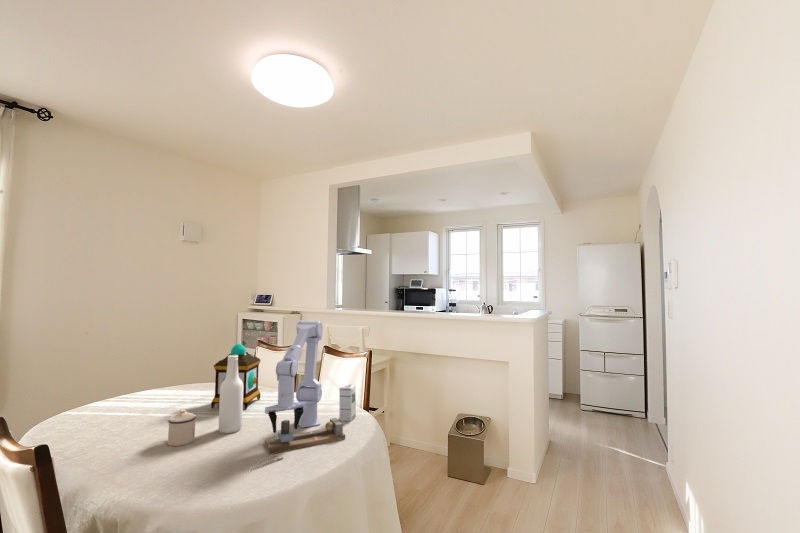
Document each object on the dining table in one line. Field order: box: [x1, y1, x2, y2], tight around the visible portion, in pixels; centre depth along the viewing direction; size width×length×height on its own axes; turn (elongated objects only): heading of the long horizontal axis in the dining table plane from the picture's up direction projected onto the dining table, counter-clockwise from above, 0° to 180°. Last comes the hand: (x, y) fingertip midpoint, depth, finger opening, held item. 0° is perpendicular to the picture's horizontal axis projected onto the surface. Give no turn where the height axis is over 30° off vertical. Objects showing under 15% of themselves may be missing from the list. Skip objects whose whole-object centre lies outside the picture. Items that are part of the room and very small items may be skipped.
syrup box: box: [338, 384, 357, 422], centre depth 168 cm, size 6×6×14 cm
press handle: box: [277, 419, 293, 442], centre depth 139 cm, size 7×4×6 cm, turn 29°
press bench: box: [264, 417, 346, 455], centre depth 143 cm, size 10×28×6 cm, turn 119°
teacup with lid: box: [167, 409, 197, 447], centre depth 143 cm, size 12×9×12 cm
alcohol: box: [218, 355, 244, 435], centre depth 155 cm, size 9×9×30 cm
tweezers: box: [245, 454, 284, 473], centre depth 122 cm, size 17×5×2 cm, turn 149°
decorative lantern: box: [210, 343, 261, 411], centre depth 189 cm, size 20×20×30 cm
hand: (285, 430), depth 139 cm, fingers open, 7 cm apart
